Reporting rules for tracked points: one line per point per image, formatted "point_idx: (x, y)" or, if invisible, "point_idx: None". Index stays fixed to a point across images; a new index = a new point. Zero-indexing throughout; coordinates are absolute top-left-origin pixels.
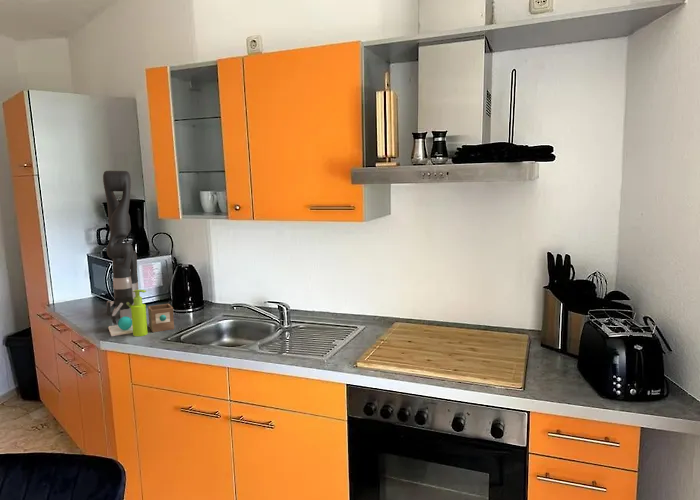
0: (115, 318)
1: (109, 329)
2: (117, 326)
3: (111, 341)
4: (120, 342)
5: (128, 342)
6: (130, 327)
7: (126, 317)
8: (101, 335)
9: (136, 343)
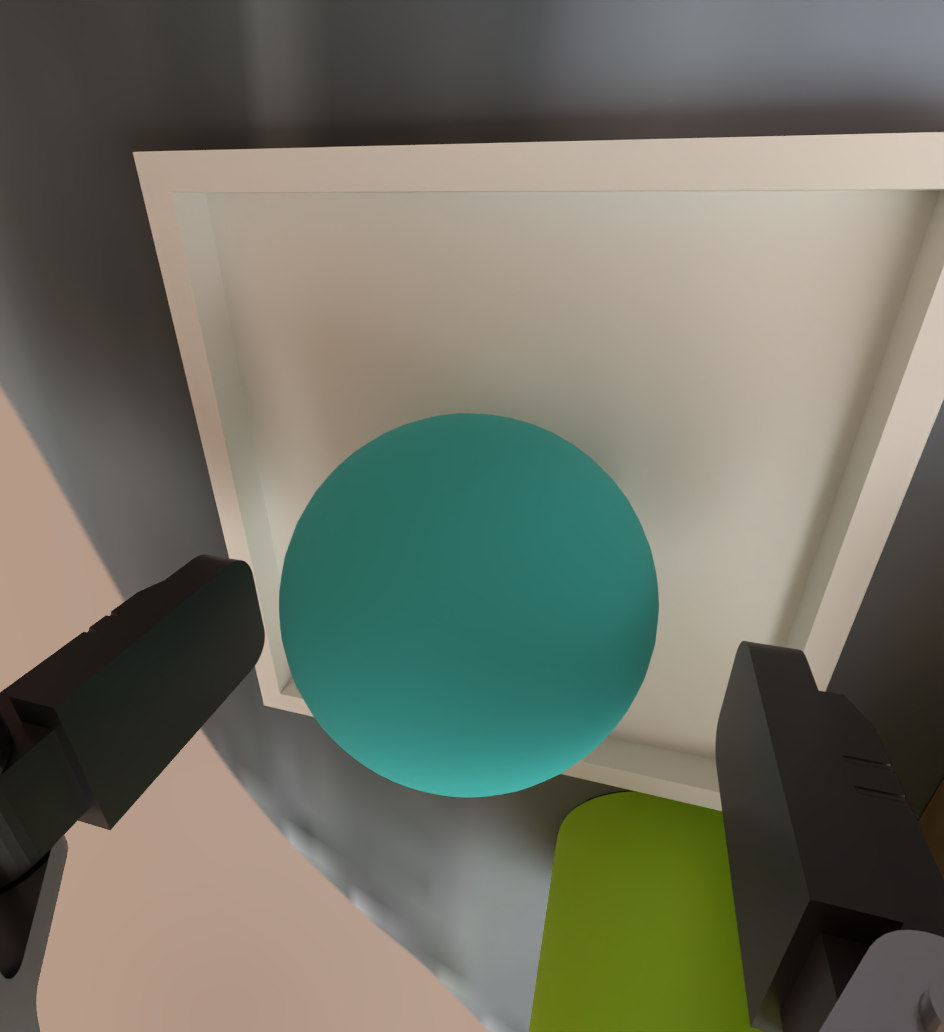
0: (160, 761)
1: (207, 464)
2: (352, 195)
3: (305, 834)
4: (390, 912)
5: (462, 959)
6: (636, 417)
7: (459, 789)
8: (154, 548)
9: (526, 1021)
